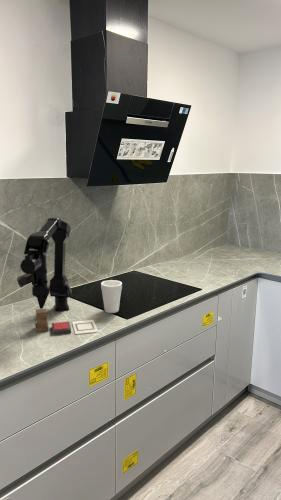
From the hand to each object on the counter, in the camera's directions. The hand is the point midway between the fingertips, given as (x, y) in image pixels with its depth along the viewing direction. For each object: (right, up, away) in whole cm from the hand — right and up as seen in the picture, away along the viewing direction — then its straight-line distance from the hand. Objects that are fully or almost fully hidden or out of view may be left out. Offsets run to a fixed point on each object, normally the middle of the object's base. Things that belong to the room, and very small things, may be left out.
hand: (41, 304), depth 157 cm
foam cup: (+27, -6, +23) cm, 36 cm away
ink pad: (+8, -11, +2) cm, 13 cm away
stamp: (0, -10, +2) cm, 11 cm away
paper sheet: (+17, -10, +5) cm, 20 cm away
